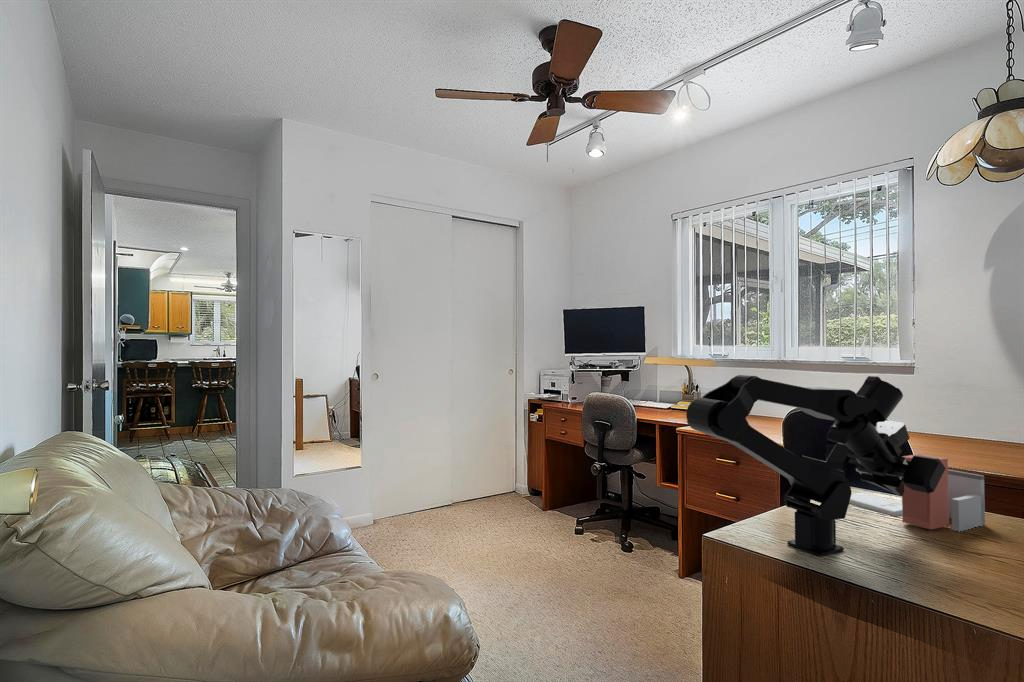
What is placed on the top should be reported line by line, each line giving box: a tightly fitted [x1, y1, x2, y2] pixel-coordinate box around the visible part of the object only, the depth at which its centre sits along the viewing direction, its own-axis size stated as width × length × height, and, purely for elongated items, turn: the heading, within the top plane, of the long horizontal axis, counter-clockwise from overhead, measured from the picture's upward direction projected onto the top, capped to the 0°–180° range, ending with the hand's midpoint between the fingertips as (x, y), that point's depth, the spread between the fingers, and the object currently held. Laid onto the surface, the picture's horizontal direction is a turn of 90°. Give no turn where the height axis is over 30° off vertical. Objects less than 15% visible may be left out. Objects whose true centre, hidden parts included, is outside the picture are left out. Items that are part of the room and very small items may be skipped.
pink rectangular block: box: [901, 453, 950, 530], centre depth 106 cm, size 7×5×13 cm
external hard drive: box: [849, 491, 902, 517], centre depth 120 cm, size 2×8×12 cm
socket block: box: [948, 468, 986, 533], centre depth 109 cm, size 9×9×10 cm
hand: (901, 493), depth 103 cm, fingers closed
